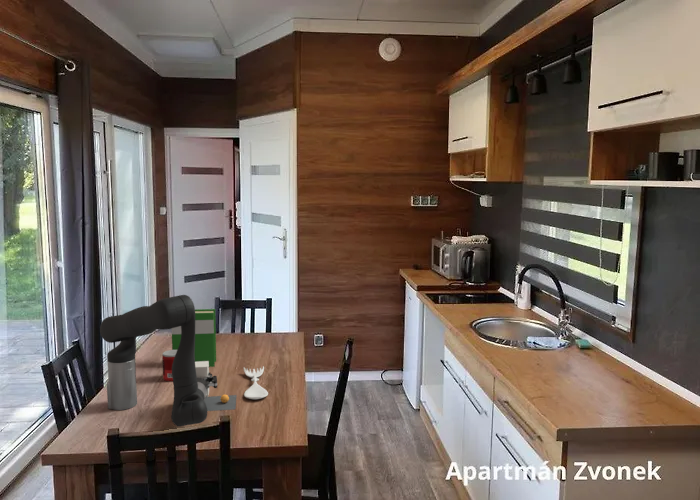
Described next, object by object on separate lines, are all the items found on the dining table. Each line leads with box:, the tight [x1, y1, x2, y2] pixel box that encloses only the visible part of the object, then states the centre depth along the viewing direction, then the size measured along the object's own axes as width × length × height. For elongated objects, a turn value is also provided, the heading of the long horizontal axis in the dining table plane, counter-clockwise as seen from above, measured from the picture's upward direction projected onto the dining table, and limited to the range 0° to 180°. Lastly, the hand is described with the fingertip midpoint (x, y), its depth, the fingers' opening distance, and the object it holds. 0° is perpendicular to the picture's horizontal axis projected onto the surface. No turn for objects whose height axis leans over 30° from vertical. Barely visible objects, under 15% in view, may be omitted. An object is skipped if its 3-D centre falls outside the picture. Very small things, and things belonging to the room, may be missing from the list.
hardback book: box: [171, 308, 217, 368], centre depth 239 cm, size 18×7×24 cm, turn 98°
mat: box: [204, 394, 237, 412], centre depth 199 cm, size 18×13×3 cm
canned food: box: [161, 349, 177, 382], centre depth 223 cm, size 8×8×11 cm
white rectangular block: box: [195, 361, 210, 397], centre depth 197 cm, size 6×6×11 cm
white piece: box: [243, 365, 269, 400], centre depth 216 cm, size 9×32×3 cm, turn 12°
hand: (199, 375), depth 199 cm, fingers closed on white rectangular block, 6 cm apart
